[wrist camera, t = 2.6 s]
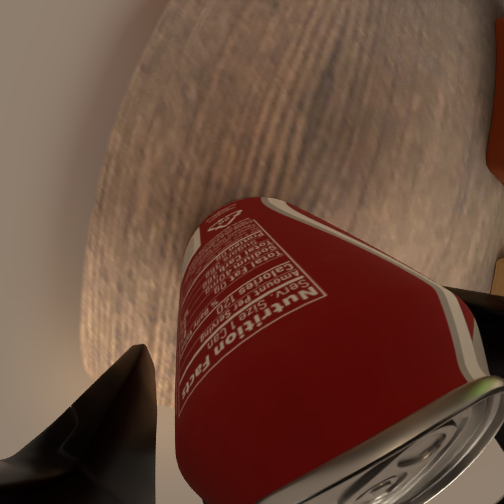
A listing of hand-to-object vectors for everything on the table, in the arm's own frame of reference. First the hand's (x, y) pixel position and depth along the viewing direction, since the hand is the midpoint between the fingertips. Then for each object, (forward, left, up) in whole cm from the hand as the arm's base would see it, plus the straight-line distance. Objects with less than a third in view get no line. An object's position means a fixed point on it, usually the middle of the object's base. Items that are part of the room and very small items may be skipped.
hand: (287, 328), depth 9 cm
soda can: (0, 0, -6) cm, 6 cm away
